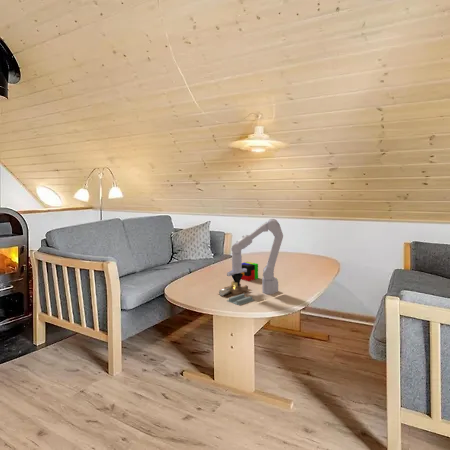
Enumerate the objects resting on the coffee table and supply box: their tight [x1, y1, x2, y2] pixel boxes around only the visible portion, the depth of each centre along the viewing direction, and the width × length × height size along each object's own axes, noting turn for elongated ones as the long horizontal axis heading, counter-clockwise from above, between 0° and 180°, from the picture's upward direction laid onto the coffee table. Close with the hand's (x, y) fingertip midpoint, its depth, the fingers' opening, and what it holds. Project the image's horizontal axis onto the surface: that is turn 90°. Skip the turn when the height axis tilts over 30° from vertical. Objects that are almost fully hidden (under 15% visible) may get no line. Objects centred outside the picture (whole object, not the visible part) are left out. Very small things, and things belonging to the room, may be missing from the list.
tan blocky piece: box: [230, 280, 238, 289], centre depth 218 cm, size 3×4×6 cm
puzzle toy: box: [241, 261, 259, 282], centre depth 252 cm, size 10×10×10 cm
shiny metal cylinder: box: [218, 287, 233, 297], centre depth 215 cm, size 8×4×4 cm, turn 132°
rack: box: [226, 293, 255, 306], centre depth 205 cm, size 12×10×3 cm
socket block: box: [217, 283, 253, 299], centre depth 219 cm, size 20×9×4 cm, turn 132°
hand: (237, 285), depth 220 cm, fingers closed
